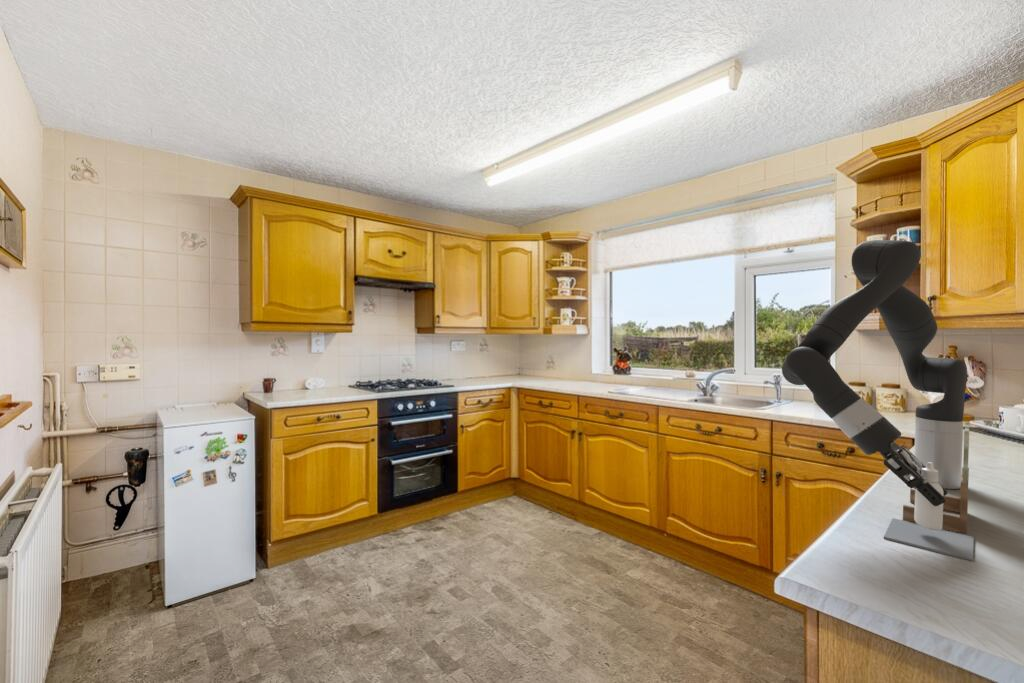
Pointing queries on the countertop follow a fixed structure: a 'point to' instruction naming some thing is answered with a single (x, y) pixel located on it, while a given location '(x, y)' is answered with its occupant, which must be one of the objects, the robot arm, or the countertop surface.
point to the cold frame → (950, 498)
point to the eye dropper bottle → (924, 509)
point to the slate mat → (931, 539)
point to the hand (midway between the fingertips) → (941, 499)
